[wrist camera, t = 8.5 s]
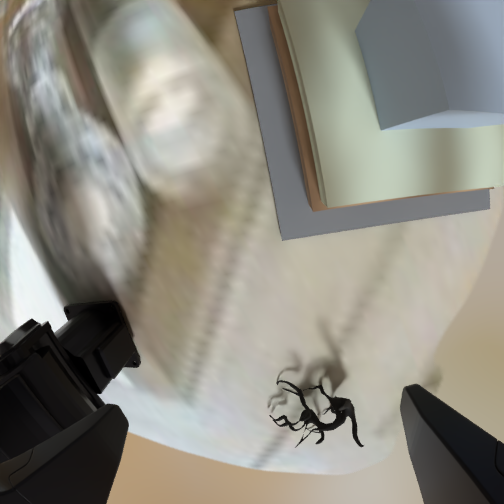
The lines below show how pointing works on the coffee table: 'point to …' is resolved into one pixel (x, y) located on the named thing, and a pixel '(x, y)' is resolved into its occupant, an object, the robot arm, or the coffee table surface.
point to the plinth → (365, 119)
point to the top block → (435, 62)
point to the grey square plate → (289, 162)
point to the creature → (310, 416)
